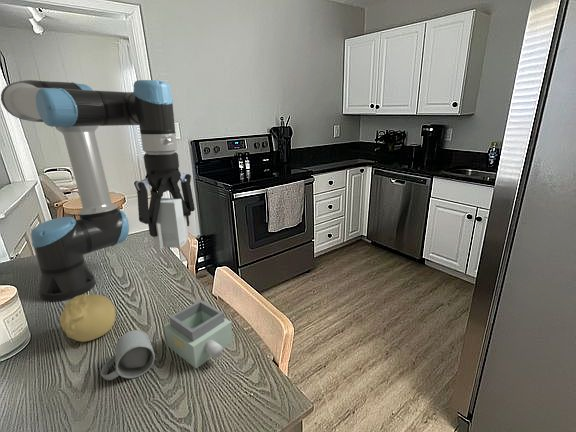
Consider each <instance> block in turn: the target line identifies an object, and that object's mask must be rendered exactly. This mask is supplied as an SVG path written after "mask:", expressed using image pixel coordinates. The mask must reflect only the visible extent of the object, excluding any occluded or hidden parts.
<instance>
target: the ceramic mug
mask: <svg viewBox="0 0 576 432" xmlns="http://www.w3.org/2000/svg"><path fill="white" fill-rule="evenodd" d="M154 351H155V350H154V347H153V346H152V343H151V339H150V337H149V336H148V334H147V333H145V332H144V331H142V330H141V329H133V330H129V331H127V332H125V333H123V334H122V335H121V336H120V337H119V338H118V339H117V342H116V344H115V348H114V353H115V354H113V356H111V357H110V358H109V359H108V360H107V361H106V362H105V363H104V365H103V366H102V369H101V372H100V376H101V377H102V378H103V379H104V380H105V381H112V380H115V379H116V378H118V377H119V376H120V377H121V378H124V379H135V378H139V377H141V376H143V375H144V374H145V373H147V372H148V371H149V370H150V369H151V368H152V367H153V365H154V363H155V359H156V358H155V357H156V356H155V355H156V354H155V352H154ZM113 364H115V370H114V371H112V372H109V369H110V368H111V366H112V365H113ZM108 373H109V374H108Z"/></svg>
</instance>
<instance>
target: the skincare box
mask: <svg viewBox="0 0 576 432" xmlns="http://www.w3.org/2000/svg"><path fill="white" fill-rule="evenodd" d="M157 223H160V226H161V233H162V241H163V248H173V249H181V248H182V247H183V246H184V245H186V244H187V241H188V240H186V233H185V225H184V217H183V208H182V200H181V199H173V197H168V198H167V197H161V202H160V207H159V212H158V218H157Z"/></svg>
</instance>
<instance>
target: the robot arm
mask: <svg viewBox="0 0 576 432" xmlns="http://www.w3.org/2000/svg"><path fill="white" fill-rule="evenodd" d="M0 101H1V104H2V105H3V106H2V107H3V108H4V109H5V110H6V112H7V113H9V114H10V115H11V116H13V117H14V118H16V119H20V120H22V121H23V120H24V121H28V122H35V123H44V124H45V125H46V126H48V127H51V128H52V127H55V130H57V131H58V132H60V133H61V134H62V135H63V138H64V142H65V146H66V150H67V153H68V158H69V160H70V164H71V168H72V172H73V176H74V180H75V183H76V187H77V191H78V194H79V195H78V196H79V199H80V202H81V206H82V207H81V209H80V211H78V217H79V219H76V218H74V217H72V216H62V217H57V218H52V219H49V220H47V221H44V222H41V223H39V224H38V225H36V226H35V227H34V228H33V229H32V230H31V232H30V235H31V236H30V237H31V242H32V243H31V244H32V245H31V246H32V247H33V248H34V252H35V255H36V259H37V263H38V266H39V268H40V269H39V270H40V274H41V276H40V280H39V288H38V292H39V296H40V298H41V300H43V301H45V302H59V301H60V302H61V301H66V300H67V301H68V300H72V299H73V298H74V297H76V296H78V295H83V294H87V293H88V292H89V291H90V290H91V289H93V287H95V285H96V282H97V281H96V278H95V275H94V273H93V272H92V270H91V268H89V266H88V265H87V263H86V262H85V258H84V255H86V254H90V253H92V252H96V251H101V250H103V249H106V248H110V247H115V246H116V245H118V244H121V243H123V242H125V241H126V240H127V238H128V236H129V232H130V226H129V225H130V224H129V220H128V217H127V216H126V213H125V212H124V211H123V210H120V209H119V207H118V206H117V205H116V204H115V203H112V199H111V196H110V191H109V187H108V183H107V179H106V173H105V170H104V166H103V162H102V158H101V154H100V150H99V146H98V142H97V141H98V140H97V137H96V133H95V132H96V130H97V129H98V128H99V126H100V127H105V126H107V127H109V126H113V127H114V126H139V133H140V140H141V146H142V147H141V148H142V151H143V152H144V155H143V162H144V168H145V171H146V175H145V178H144V179H141V180H139V181H138V180H135V181H134V183H133V185H134V187H135V190H136V193H137V195H136V196H137V210H138V221H139V222H140V223H142V224H145V225H148V232H149V235H150V236H151V237H152V238H153V243H154V247H155V248H157V249H159V250H162V249H164V247H163V241H162V233H161V226H160V223H157V218H158V212H159V207H160V202H161V198H163V196H164V193H167V192H169V193H170V194H171V196H172V197H171V198H172V199H181V200H182V208H183V217H184V225H185V233H186V241H188V240H189V231H188V230H189V229H188V227H189V226H190V216H191V215H192V213H191V212H194V211H195V208H196V207H195V202H194V197H193V191H192V185H191V180H192V175H191V174H189V173H181V172H180V169H179V167H180V161H179V154H178V153H177V152H176V151H177V150H178V145H177V136H176V126H175V124H176V123H175V115H174V105H173V104H174V103H173V101H174V100H173V98H172V93H171V85H170V84H169V83H168V82H166V81H164V80H156V79H155V80H153V79H152V80H151V79H139V80H135V81H134V82H133V91H111V90H94V89H92V88H91V87H90V86H89V85H87V84H84V83H76V82H73V81H72V82H67V81H65V82H64V81H49V80H47V81H46V80H45V81H44V80H34V79H33V80H32V79H26V80H19V81H15V82H11V83H9V84H8V85H6V86H5V87H3V89H2V90H1V94H0ZM179 181H180V187H181V188H180V187H179ZM149 186H150V187H151V189H150V201H149V196H148V195H149V193H148V189H149ZM181 192H182V193H181Z"/></svg>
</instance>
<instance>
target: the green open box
mask: <svg viewBox="0 0 576 432" xmlns="http://www.w3.org/2000/svg"><path fill="white" fill-rule="evenodd" d="M168 318H169V321H168V322H167V323H165V324H164V325H163V328H164V336H165V342H166V346H167V347H168V348H169V349H170V350H172V351H173V353H176V354H177V355H178V356H179V357H181V358H182V359H183V360H184V361H186V363H188V364H189V365H190V366H192V367H193V368H195V369H198V368H199V367H201V366H202V365H204V363H206V362H208V361H209V360H211V358H212V359H218V358H219V357H221V354H222V353H223V350H224V349H225V348H227V347H228V346H230V344H232V343H234V341H233V325H232V321H231V320H229V319H227V318H226V317H225V313H224V312H223V311H221V310H219V309H218V308H216V307H214V306H212V305H211V304H209V303H207V301H204V300H202V299H200V300H198V301H195V303H192V304H191V305H188V306H187V307H185V308H183V309H181V310H180V311H178V312H175V313H174V314H172V315H170V316H169V317H168Z"/></svg>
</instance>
